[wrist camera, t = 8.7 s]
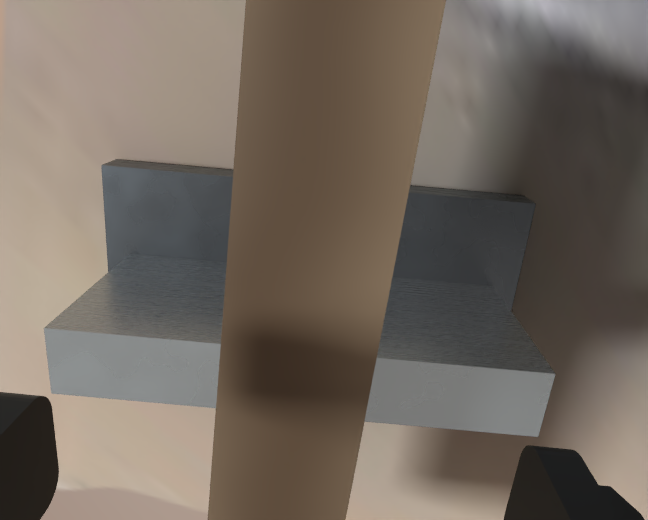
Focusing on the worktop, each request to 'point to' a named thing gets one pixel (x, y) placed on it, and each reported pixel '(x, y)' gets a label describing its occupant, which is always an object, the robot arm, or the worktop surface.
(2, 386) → the worktop surface
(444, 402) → the stand
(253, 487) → the walnut beam
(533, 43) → the worktop surface
